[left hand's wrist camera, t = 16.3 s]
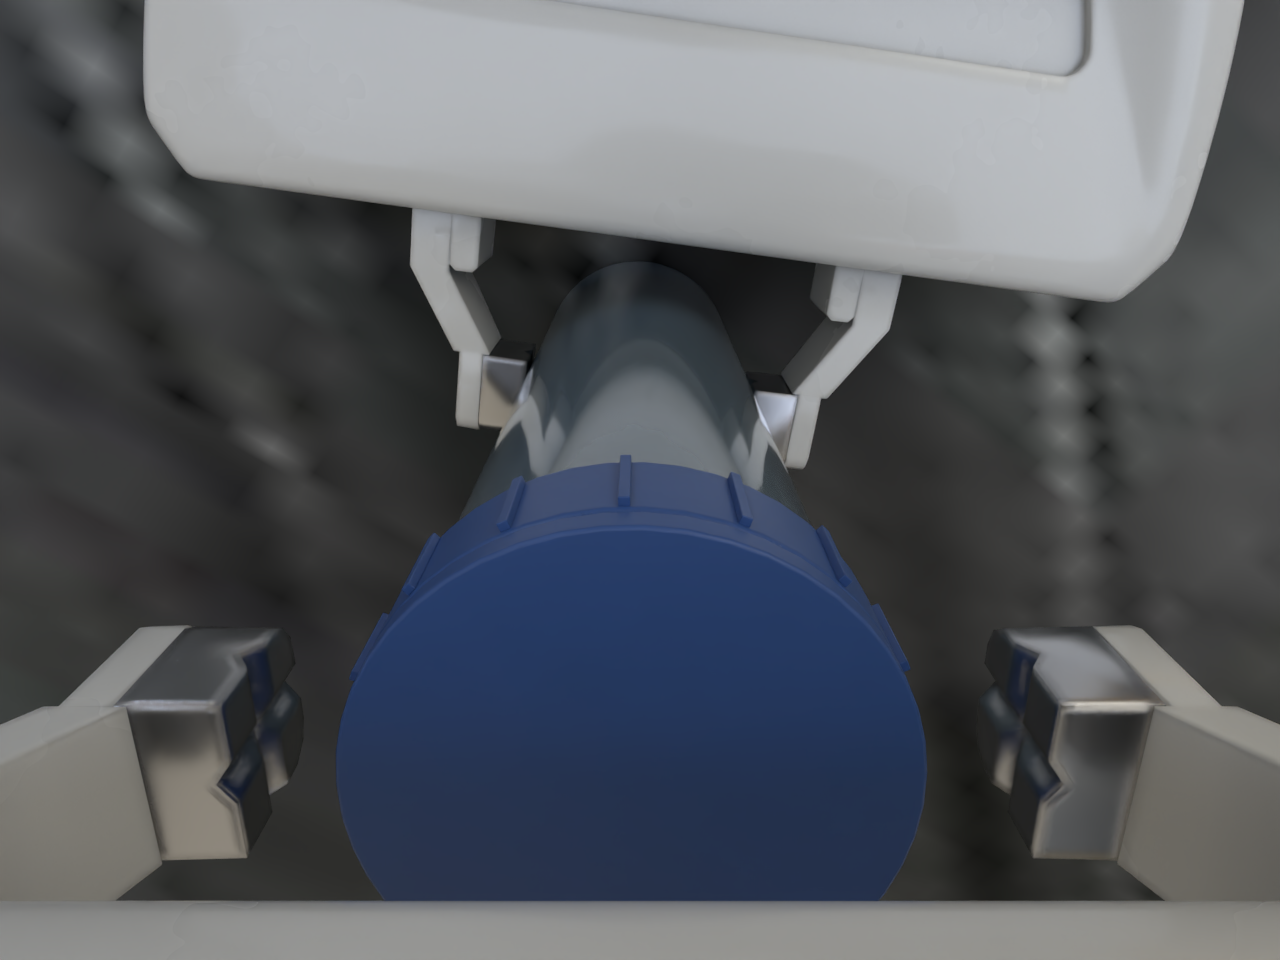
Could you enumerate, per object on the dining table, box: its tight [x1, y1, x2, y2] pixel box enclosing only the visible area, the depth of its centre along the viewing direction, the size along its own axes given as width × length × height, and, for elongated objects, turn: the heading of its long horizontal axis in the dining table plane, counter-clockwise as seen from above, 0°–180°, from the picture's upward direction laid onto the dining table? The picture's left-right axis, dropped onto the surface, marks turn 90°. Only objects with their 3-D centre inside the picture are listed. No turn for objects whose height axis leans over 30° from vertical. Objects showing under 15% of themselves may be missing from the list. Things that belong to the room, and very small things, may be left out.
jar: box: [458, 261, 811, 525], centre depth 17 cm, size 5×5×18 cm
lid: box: [336, 455, 927, 901], centre depth 9 cm, size 6×6×2 cm
